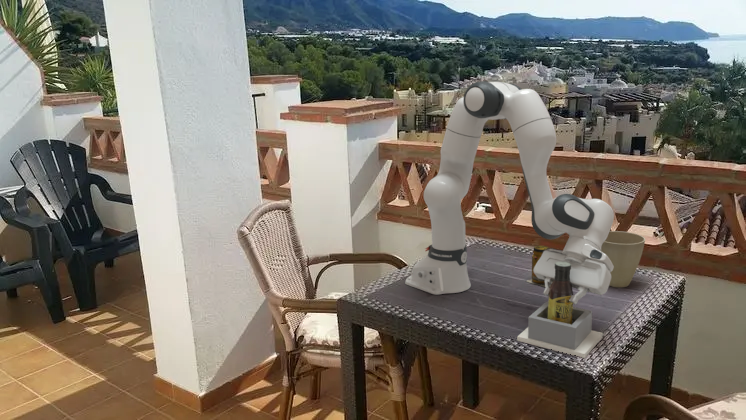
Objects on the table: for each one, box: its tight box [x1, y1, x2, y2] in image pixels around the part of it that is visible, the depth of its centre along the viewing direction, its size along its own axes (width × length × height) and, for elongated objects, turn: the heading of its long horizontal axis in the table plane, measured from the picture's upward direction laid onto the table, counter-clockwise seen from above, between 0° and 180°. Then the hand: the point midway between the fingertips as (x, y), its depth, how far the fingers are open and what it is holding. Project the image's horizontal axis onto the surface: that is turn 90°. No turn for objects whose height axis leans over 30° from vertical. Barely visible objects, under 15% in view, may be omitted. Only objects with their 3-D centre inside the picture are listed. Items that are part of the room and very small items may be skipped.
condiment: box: [525, 245, 551, 288], centre depth 196 cm, size 7×8×12 cm
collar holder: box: [516, 300, 604, 359], centre depth 156 cm, size 18×14×7 cm
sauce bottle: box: [547, 262, 574, 325], centre depth 154 cm, size 7×6×20 cm
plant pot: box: [601, 230, 646, 288], centre depth 191 cm, size 15×15×16 cm
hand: (559, 299), depth 154 cm, fingers closed on sauce bottle, 6 cm apart
